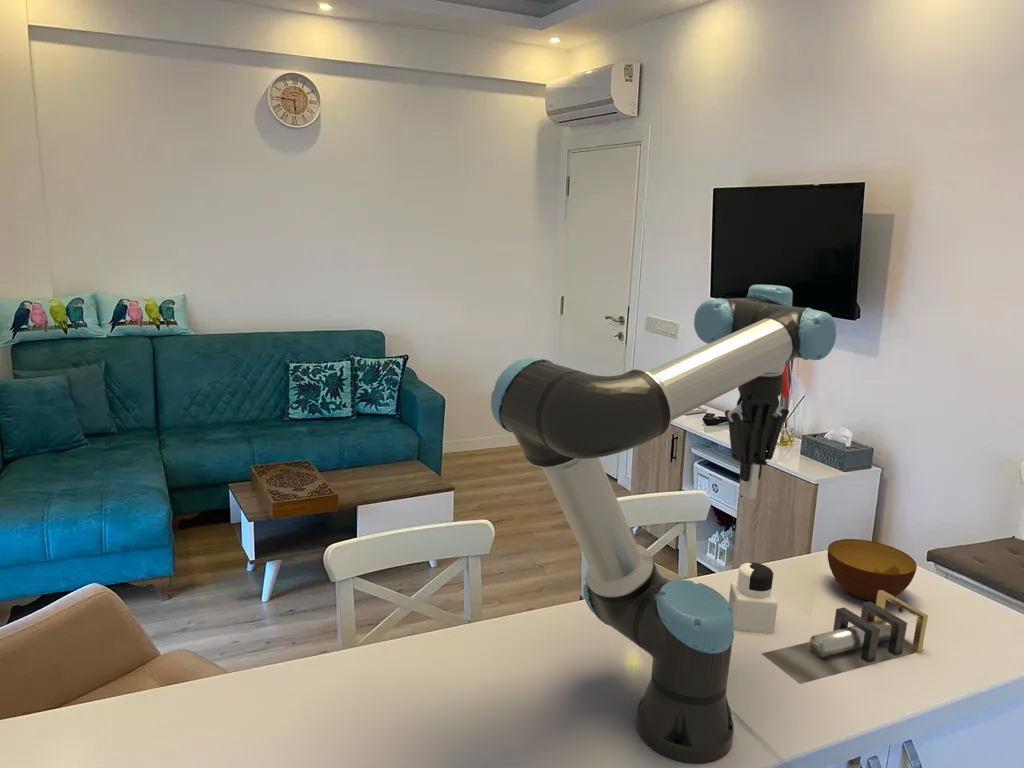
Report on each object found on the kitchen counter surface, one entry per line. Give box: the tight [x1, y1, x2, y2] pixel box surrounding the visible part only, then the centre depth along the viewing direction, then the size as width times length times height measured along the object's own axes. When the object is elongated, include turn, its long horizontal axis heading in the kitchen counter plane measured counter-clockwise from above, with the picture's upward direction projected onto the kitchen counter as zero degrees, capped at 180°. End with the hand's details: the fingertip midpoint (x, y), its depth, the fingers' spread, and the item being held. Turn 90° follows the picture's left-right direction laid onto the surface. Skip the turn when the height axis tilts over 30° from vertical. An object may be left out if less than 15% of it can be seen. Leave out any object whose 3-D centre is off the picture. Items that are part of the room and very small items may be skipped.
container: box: [728, 562, 778, 634], centre depth 150 cm, size 8×8×13 cm
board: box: [760, 638, 924, 685], centre depth 142 cm, size 31×10×1 cm, turn 113°
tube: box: [809, 619, 892, 658], centre depth 143 cm, size 20×4×4 cm, turn 113°
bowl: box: [827, 538, 918, 602], centre depth 164 cm, size 18×18×10 cm
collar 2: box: [860, 601, 908, 656], centre depth 145 cm, size 2×8×6 cm, turn 23°
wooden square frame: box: [874, 590, 929, 654], centre depth 146 cm, size 1×10×8 cm, turn 23°
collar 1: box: [832, 607, 880, 663], centre depth 142 cm, size 2×8×6 cm, turn 23°
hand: (747, 496), depth 138 cm, fingers closed
